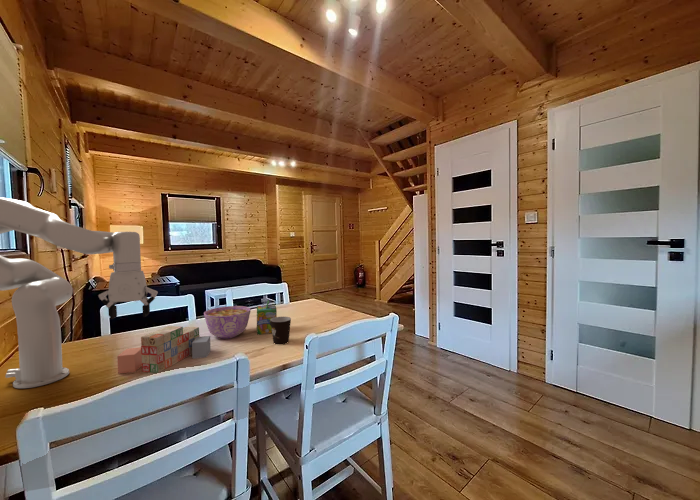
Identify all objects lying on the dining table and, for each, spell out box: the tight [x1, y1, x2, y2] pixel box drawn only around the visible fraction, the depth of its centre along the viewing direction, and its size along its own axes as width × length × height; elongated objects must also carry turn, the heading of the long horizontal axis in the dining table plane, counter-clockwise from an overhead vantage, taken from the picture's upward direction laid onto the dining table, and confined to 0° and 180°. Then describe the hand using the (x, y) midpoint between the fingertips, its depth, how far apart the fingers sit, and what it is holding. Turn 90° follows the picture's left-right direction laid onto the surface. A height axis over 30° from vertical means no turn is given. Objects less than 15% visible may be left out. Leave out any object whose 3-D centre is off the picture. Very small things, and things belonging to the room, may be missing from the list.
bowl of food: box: [203, 305, 252, 339], centre depth 139 cm, size 20×20×12 cm
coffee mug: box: [270, 316, 292, 345], centre depth 131 cm, size 12×9×10 cm
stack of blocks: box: [140, 325, 201, 374], centre depth 112 cm, size 21×6×12 cm, turn 170°
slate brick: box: [191, 335, 212, 359], centre depth 117 cm, size 5×7×6 cm
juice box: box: [256, 299, 278, 335], centre depth 145 cm, size 9×9×15 cm
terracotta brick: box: [116, 346, 142, 374], centre depth 105 cm, size 5×7×6 cm
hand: (129, 317), depth 104 cm, fingers open, 9 cm apart
